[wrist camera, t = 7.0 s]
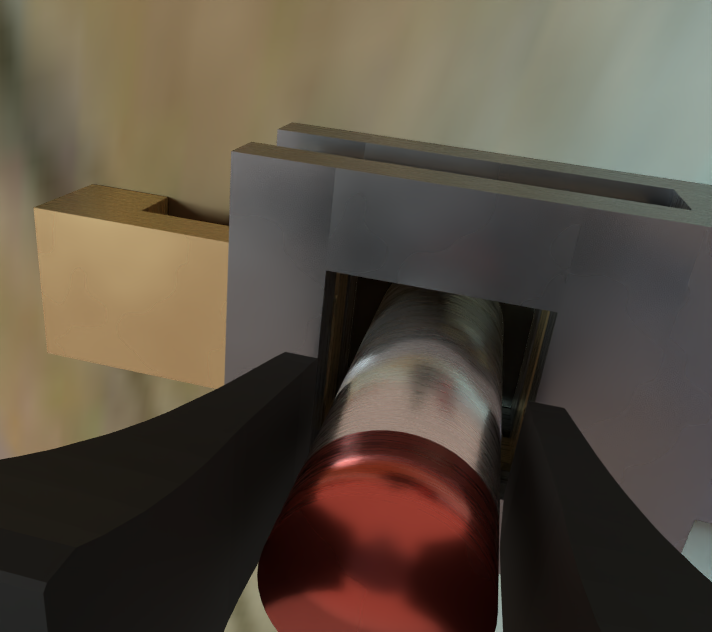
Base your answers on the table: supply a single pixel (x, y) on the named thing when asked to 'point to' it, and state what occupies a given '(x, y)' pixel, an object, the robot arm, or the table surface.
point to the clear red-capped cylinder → (400, 481)
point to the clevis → (420, 269)
